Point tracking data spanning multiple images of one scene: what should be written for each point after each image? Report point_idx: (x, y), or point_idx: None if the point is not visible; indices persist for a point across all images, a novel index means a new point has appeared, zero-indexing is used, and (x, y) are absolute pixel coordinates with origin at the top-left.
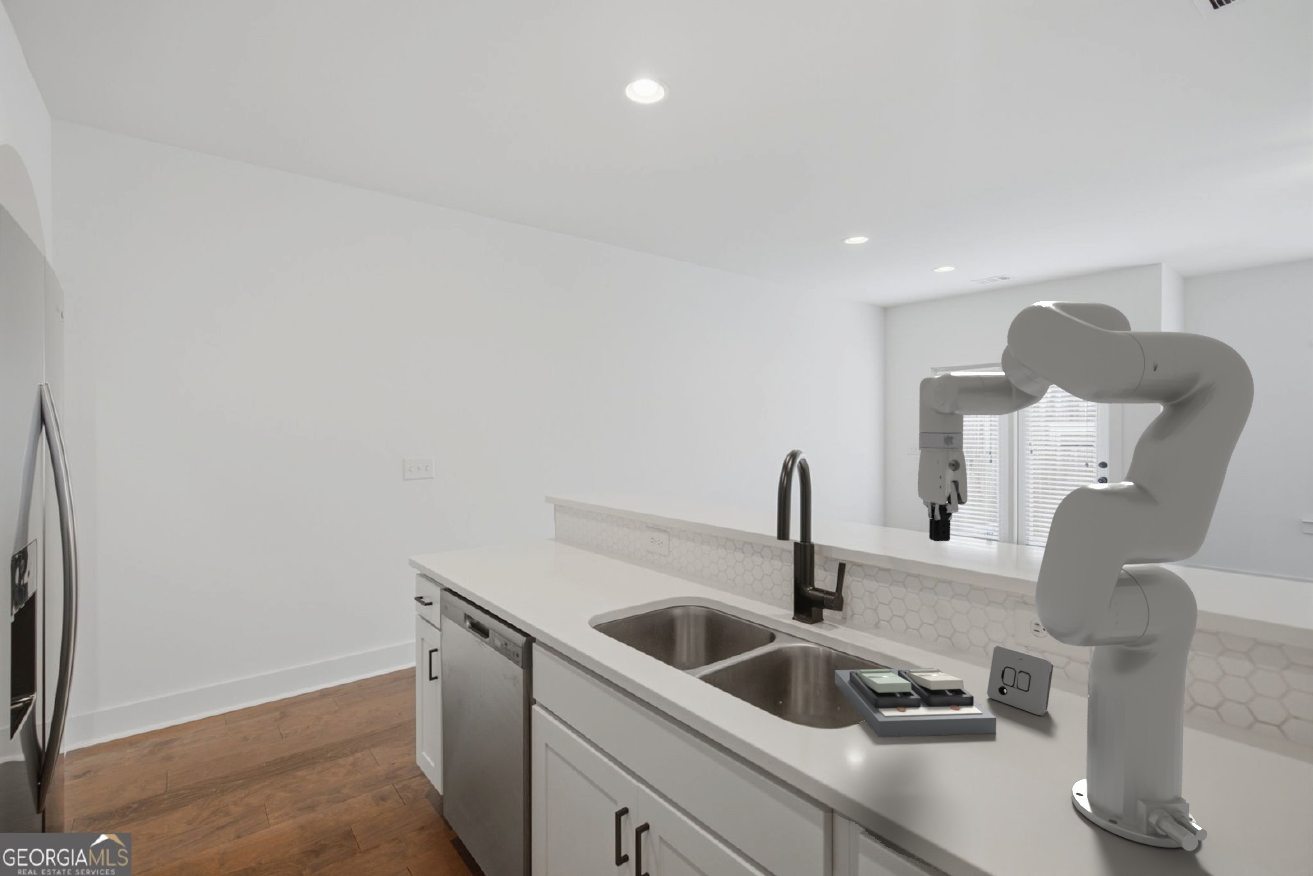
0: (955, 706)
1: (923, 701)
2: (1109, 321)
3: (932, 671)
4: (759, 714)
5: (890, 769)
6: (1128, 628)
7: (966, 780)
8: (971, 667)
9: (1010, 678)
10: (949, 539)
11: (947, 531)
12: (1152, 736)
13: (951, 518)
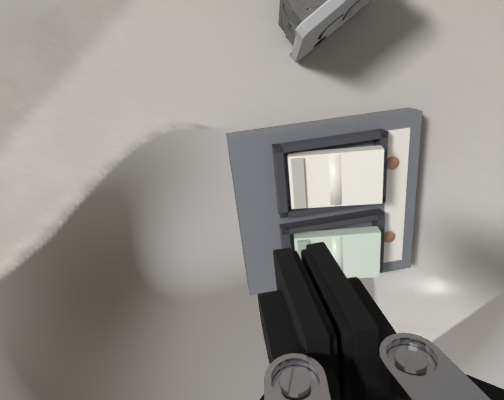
0: (390, 162)
1: None
2: None
3: (303, 170)
4: None
5: (462, 259)
6: None
7: (497, 191)
8: (144, 21)
9: (333, 26)
10: (323, 244)
11: (367, 294)
12: None
13: (431, 344)
